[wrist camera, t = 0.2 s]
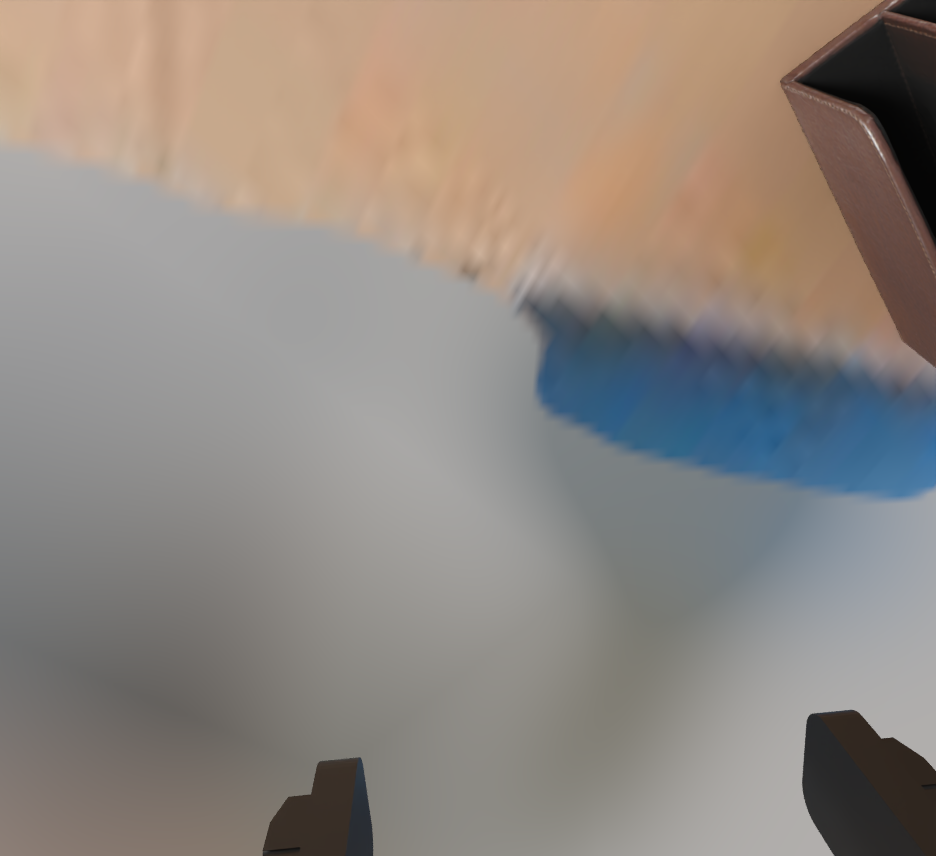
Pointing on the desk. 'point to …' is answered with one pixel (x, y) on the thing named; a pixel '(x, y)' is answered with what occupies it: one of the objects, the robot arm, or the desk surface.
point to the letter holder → (881, 151)
